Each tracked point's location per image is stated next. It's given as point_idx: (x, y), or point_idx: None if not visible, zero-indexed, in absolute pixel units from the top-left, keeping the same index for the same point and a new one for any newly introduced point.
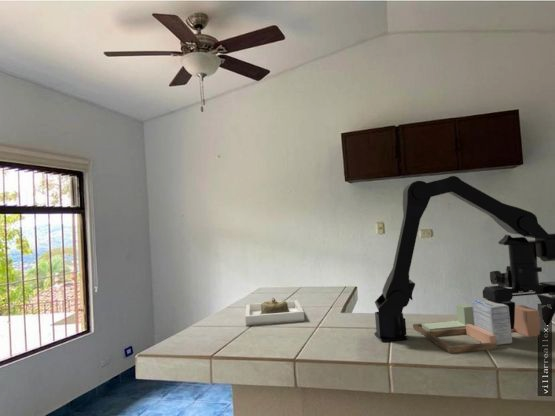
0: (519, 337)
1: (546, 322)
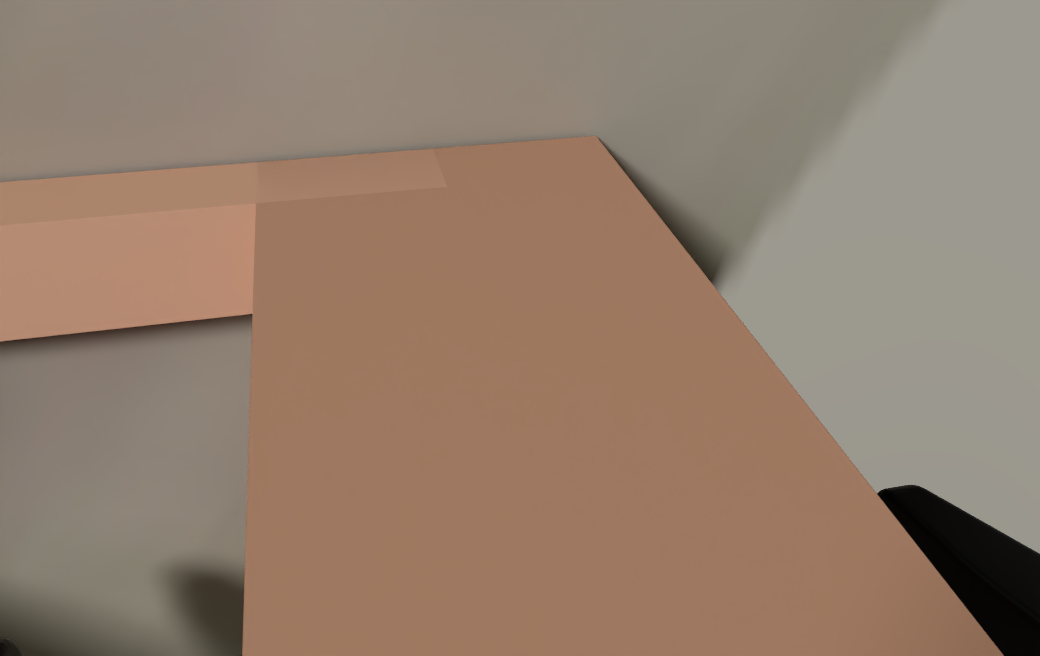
0: (146, 628)
1: None
